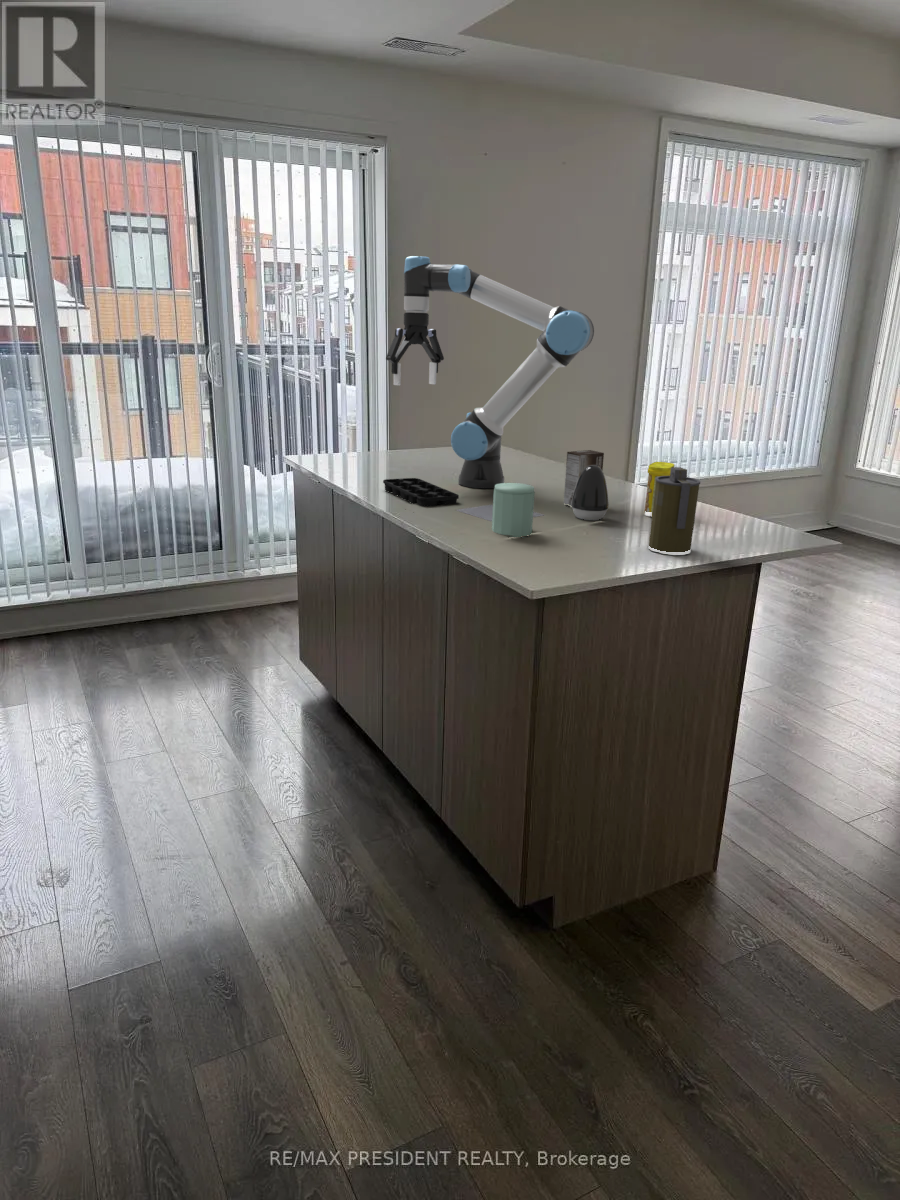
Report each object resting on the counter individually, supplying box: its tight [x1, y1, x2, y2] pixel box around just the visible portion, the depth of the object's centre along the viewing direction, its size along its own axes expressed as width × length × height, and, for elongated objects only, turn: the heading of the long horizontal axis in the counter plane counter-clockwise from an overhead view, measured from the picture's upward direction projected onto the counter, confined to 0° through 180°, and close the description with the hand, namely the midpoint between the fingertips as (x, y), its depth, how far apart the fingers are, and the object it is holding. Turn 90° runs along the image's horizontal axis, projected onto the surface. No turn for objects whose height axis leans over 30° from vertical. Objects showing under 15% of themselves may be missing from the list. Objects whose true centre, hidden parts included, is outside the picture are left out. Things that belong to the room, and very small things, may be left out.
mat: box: [455, 503, 545, 522], centre depth 234 cm, size 18×18×1 cm
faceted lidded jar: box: [491, 482, 536, 537], centre depth 213 cm, size 10×10×12 cm
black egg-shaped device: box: [571, 465, 610, 521], centre depth 230 cm, size 10×10×15 cm
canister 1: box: [644, 461, 676, 512], centre depth 239 cm, size 6×11×14 cm, turn 154°
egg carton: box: [382, 477, 459, 507], centre depth 252 cm, size 18×30×4 cm, turn 41°
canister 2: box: [648, 466, 701, 552], centre depth 201 cm, size 11×10×20 cm
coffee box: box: [563, 449, 605, 505], centre depth 246 cm, size 9×6×16 cm
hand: (414, 384), depth 257 cm, fingers open, 13 cm apart
